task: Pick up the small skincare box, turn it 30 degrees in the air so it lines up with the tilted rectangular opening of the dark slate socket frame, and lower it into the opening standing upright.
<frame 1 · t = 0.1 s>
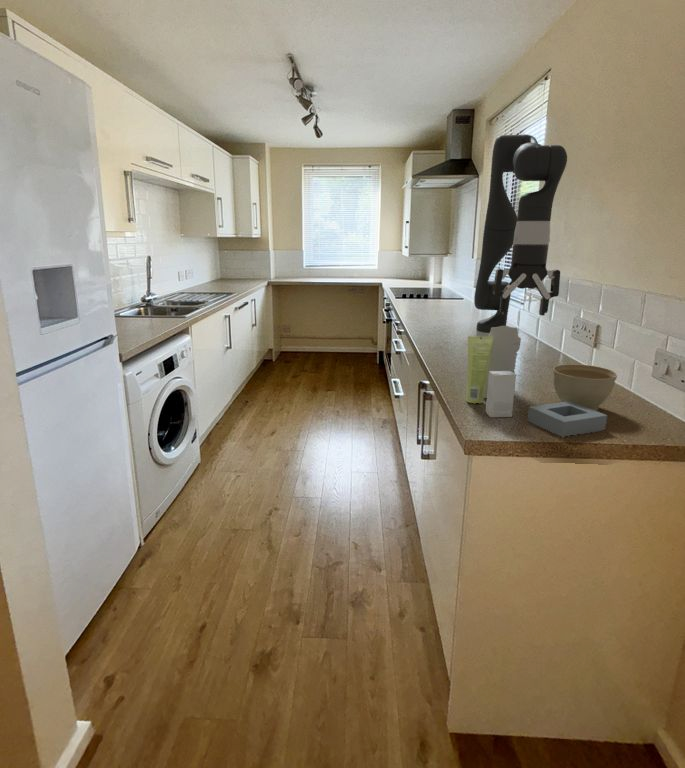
hand: (522, 314, 115), 29 cm above the worktop, tool pointing down, fingers open, 8 cm apart
tall pale column: (496, 398, 148), on the worktop
tube: (474, 402, 144), on the worktop
socket frame: (565, 425, 126), on the worktop
skincare box: (498, 415, 133), on the worktop
planter bowl: (578, 408, 140), on the worktop
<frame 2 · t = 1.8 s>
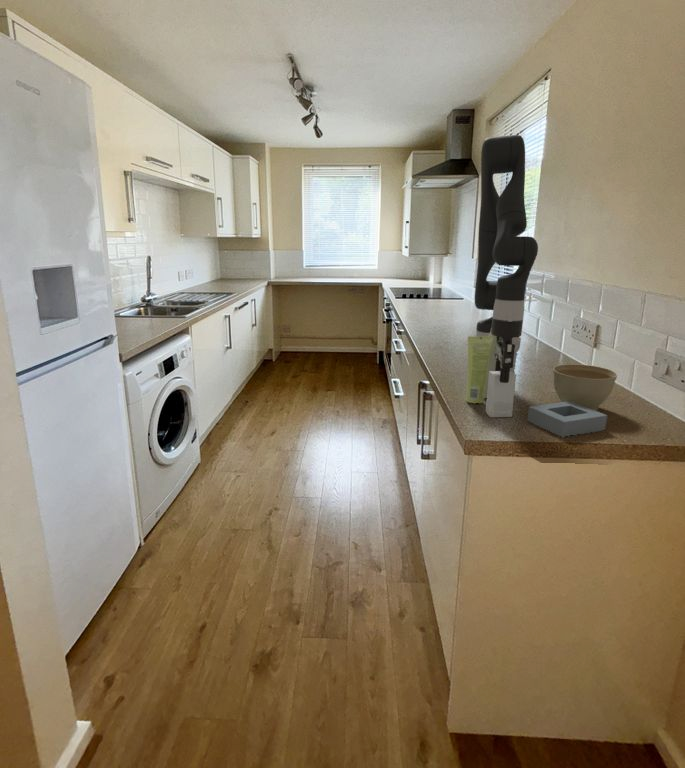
hand: (501, 378, 130), 11 cm above the worktop, tool pointing down, fingers open, 8 cm apart
nothing on the worktop moved.
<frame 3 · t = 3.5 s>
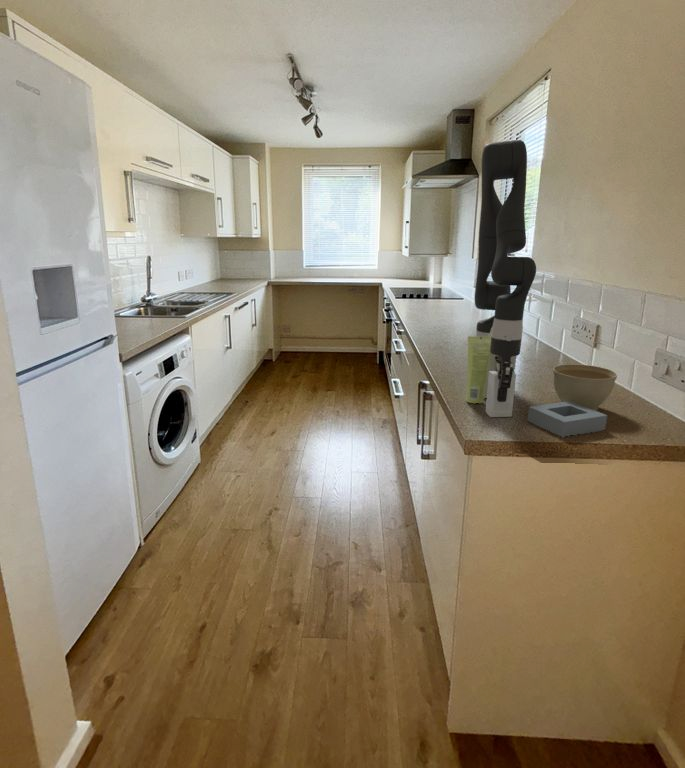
hand: (499, 397, 132), 5 cm above the worktop, tool pointing down, fingers closed on skincare box, 5 cm apart
skincare box: (498, 415, 133), on the worktop, touching gripper
everything else where it was.
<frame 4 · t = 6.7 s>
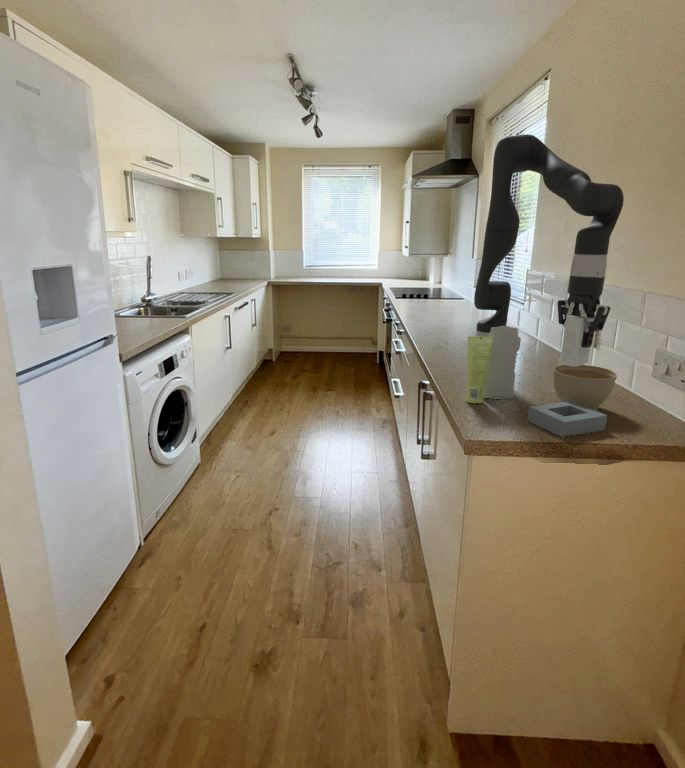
hand: (576, 344, 120), 21 cm above the worktop, tool pointing down, fingers closed on skincare box, 5 cm apart
skincare box: (573, 364, 122), point 16 cm above the worktop, touching gripper
everything else where it was.
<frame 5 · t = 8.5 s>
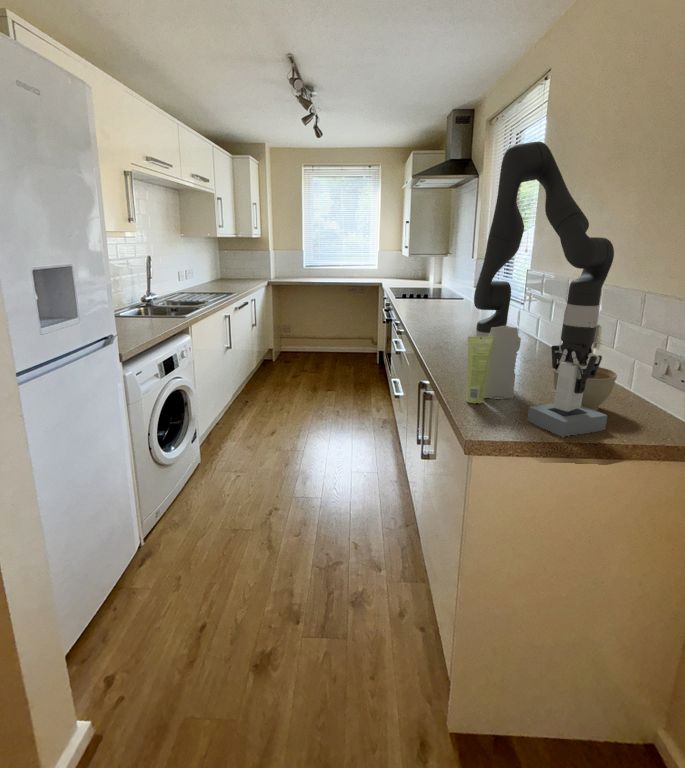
hand: (570, 389, 123), 10 cm above the worktop, tool pointing down, fingers closed on skincare box, 5 cm apart
skincare box: (567, 408, 125), point 5 cm above the worktop, touching gripper
everything else where it was.
when the fingers open (6 cm above the worktop, at t = 9.9 s): skincare box drops 1 cm, resting in socket frame.
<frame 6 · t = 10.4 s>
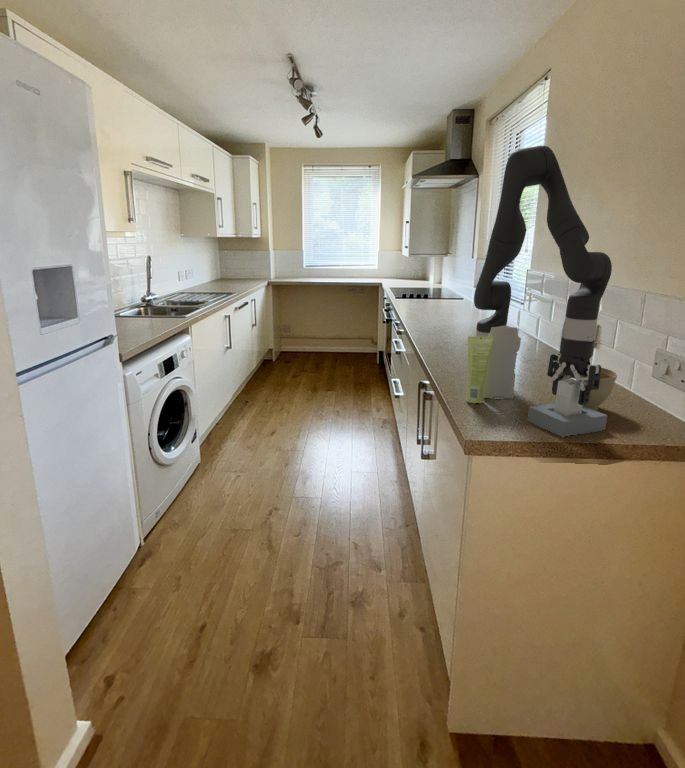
hand: (569, 399, 124), 7 cm above the worktop, tool pointing down, fingers open, 8 cm apart
skincare box: (565, 426, 126), resting in socket frame
everything else where it was.
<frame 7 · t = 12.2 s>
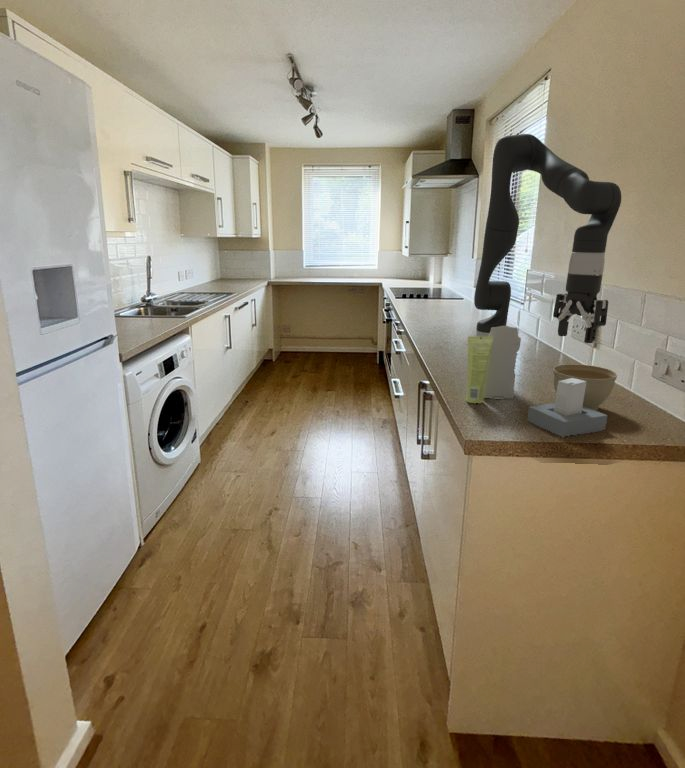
hand: (575, 339, 121), 22 cm above the worktop, tool pointing down, fingers open, 8 cm apart
nothing on the worktop moved.
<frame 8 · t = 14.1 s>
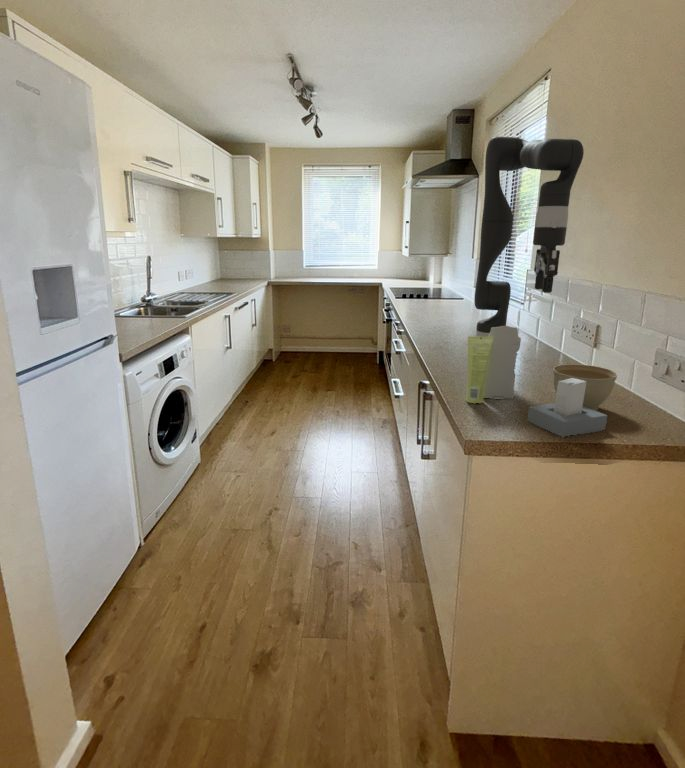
hand: (542, 290, 128), 33 cm above the worktop, tool pointing down, fingers open, 8 cm apart
nothing on the worktop moved.
at the end: skincare box 0.1 cm off-centre on the socket frame, point 0.0 cm above the socket frame's base; skincare box tilted 0°; the gripper is holding nothing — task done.
